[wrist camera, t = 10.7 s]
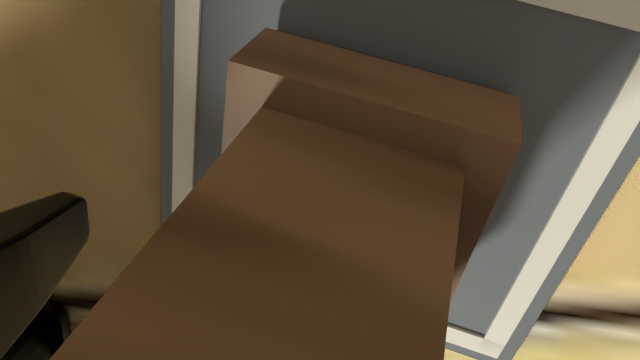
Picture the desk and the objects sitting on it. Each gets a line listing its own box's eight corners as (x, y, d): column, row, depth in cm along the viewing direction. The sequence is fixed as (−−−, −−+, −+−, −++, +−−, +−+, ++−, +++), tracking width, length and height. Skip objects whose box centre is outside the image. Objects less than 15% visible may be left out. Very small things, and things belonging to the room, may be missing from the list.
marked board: (505, 355, 16) (505, 371, 16) (168, 241, 18) (159, 253, 17) (731, -14, 10) (742, -5, 9) (173, -149, 11) (158, -147, 11)
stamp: (441, 272, 15) (379, 716, 7) (249, 211, 15) (22, 561, 8) (519, 88, 11) (541, 557, 4) (272, 21, 12) (-72, 324, 5)
